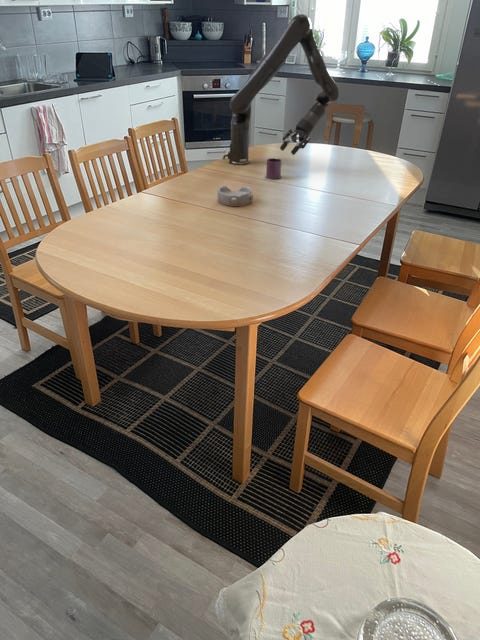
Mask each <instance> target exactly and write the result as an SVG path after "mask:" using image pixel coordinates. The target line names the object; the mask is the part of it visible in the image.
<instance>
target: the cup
mask: <svg viewBox="0 0 480 640" xmlns="http://www.w3.org/2000/svg"><path fill="white" fill-rule="evenodd" d="M282 162H283V161H282V158H281V159H280V158H275V157H273V158H268V159H266V171H265V172H266V173H265V177H266V179H269V180H280V179H281V178H282V177H281V176H282Z"/></svg>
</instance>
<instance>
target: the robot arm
mask: <svg viewBox="0 0 480 640" xmlns="http://www.w3.org/2000/svg"><path fill="white" fill-rule="evenodd" d="M298 44H300V46H301V48H302V50H303V53H304V56H305V58H306V62H307V65H308V68H309V70H310V73H311V75H312V78H313V80H314V82H315V84H316V85H318V86H320V88H321V91H320V92H319V93H318V95H317V97H316V98H315V100H314V102H313V104H312V105H311V106H310V108H308V110H307V111H306V113H305V114H303V116H302V117H301V118H300V120H299V121H298V123H297V124H296V125H295V130H292V129H290V128H289V130H288V131H287V132H286V134H285V135H284V136H283V137H282V141H283V142H282V144H281V145H280V146H279V149H280V150H281V151H283V152H284V151H285V149H286V148H287V147H288V145H289V144H293V143H296V145H294V147H293V148H292V150H291V151H290V154H291V155H293V156H295V155H296V154H297V152H298V151H300V150H301V149H302V150H303V149H305V148H306V146H307V144H309V142H310V141H311V137H310V135H311V134H312V133H313V131H314V130H315V128H316V127H317V125H318V124H319V122H320V121H321V120H322V118H323V117H324V115H325V114H326V112H327V107H328V106H329V105H330V104H332V103H335V102H337V101H338V99H339V98H340V90H339V87H338V85H337V83H336V82H335V80H334V79H333V77H332V76H331V75H330V71H329V69H328V67H327V65H326V63H325V60H324V58H323V56H322V54H321V51H320V49H319V47H318V45H317V42H316V39H315V34H314V31H313V26H312V21H311V19H310V17H309V16H308V15H306V14H302V13H298V14H296V15H295V16H293V17H292V18H291V20H290V21H289V23H288V25H287V27H286V29H285V30H284V31H283V33H282V34H281V36H280V37H279V39H278V40H277V41H276V42H275V43H274V44H273V45H272V46H271V47H270V48H269V49H268V50H267V51H266V53H265V54H264V55H263V57H262V58H261V59H260V60H259V62H258V63H257V65H256V66H255V67H254V69H252V71H251V73H250V75H249V76H248V78H247V80H246V81H245V83H244V84H243V85H242V86H241V87H240V88H239V89H238V91H236V93H235V94H232V95H233V96H231V98H230V99H229V108H230V111H231V113H232V115H231V121H230V144H229V151H228V152H227V154H224V155H223V156H222V159H223V160H225V159H226V157H227V160H229V164H233V165H247V164H249V162H250V161H249V155H250V154H249V153H250V124H251V123H250V122H251V115H252V114H251V113H252V112H251V111H252V102H253V100H254V99H255V97H256V96H257V95H258V94H259V93H260V92H261V91H262V90H263V89H264V88H265V87H266V86H267V85H268V84H269V83H270V82H271V81H272V80H273V78H275V76H276V75H277V73H278V72H279V71H280V69H281V68H282V66H284V64H285V63H286V61H287V59H288V57H289V55H290V54H291V52H292V51H293V50H294V48H296V46H297V45H298Z"/></svg>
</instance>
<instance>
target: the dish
mask: <svg viewBox="0 0 480 640" xmlns="http://www.w3.org/2000/svg"><path fill="white" fill-rule="evenodd" d="M217 199H218V201H219V203H221V204H223V205H226V206H232V207H239V206H246V205H248V204H250V203H252V200H253V199H254V194H253V192H252V189H251V188H250V187H248V186H245V185H242V186H241V187H240V188H239V189H238V190H231V189H230V188H228V186H226V185H224V186H220V187H218V188H217Z"/></svg>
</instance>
